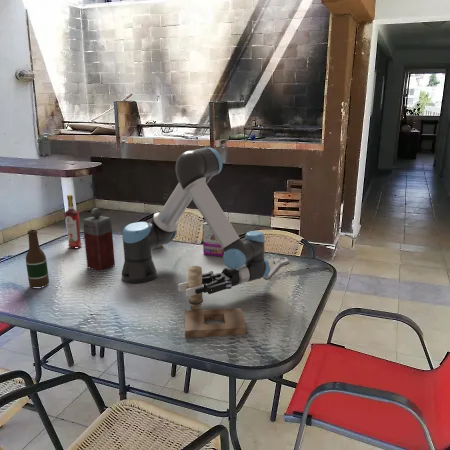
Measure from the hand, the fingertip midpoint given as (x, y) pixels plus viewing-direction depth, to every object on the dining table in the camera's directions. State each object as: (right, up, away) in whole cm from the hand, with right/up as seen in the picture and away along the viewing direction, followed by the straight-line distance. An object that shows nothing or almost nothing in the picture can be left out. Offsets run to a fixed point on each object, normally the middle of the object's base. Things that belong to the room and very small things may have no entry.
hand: (182, 290), depth 155 cm
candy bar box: (+10, +8, +62) cm, 63 cm away
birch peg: (+4, -8, +5) cm, 10 cm away
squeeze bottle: (-21, +12, +74) cm, 77 cm away
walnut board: (+12, -11, -7) cm, 17 cm away
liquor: (-64, +11, +74) cm, 99 cm away
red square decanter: (-44, +4, +48) cm, 65 cm away
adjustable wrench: (+37, +3, +43) cm, 57 cm away
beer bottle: (-63, -2, +27) cm, 68 cm away
